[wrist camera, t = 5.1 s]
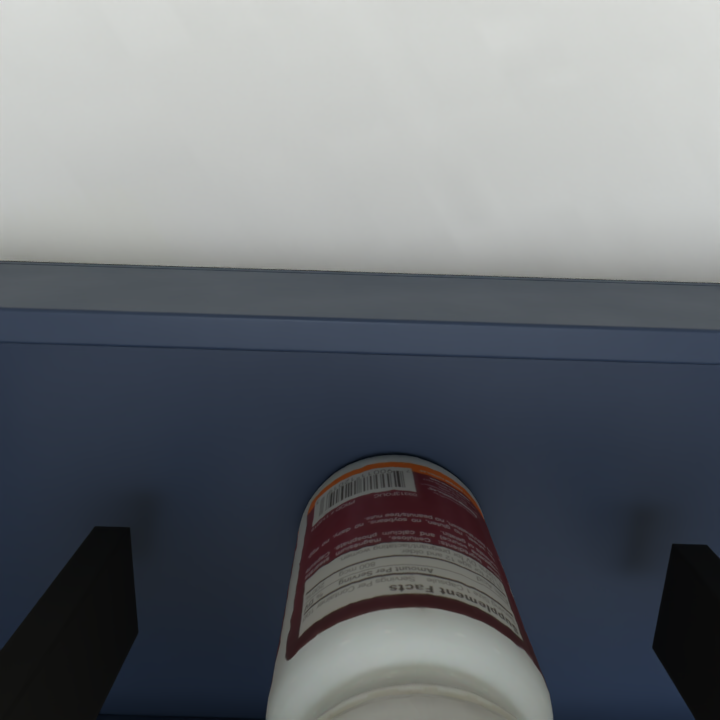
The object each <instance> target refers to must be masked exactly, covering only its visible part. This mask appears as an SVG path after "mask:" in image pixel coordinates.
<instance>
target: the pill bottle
mask: <svg viewBox="0 0 720 720" xmlns="http://www.w3.org/2000/svg"><path fill="white" fill-rule="evenodd" d="M266 720H553V712H552V705H551V700H550V693H549V691H548V688H547V685H546V682H545V679H544V676H543V674H542V672H541V669H540V667H539V664H538V661H537V658H536V656H535V654H534V651H533V647H532V645H531V643H530V641H529V638H528V635H527V633H526V631H525V629H524V626H523V623H522V620H521V617H520V614H519V612H518V609H517V606H516V603H515V600H514V597H513V595H512V592H511V589H510V586H509V583H508V581H507V578H506V575H505V573H504V570H503V567H502V564H501V561H500V559H499V556H498V553H497V551H496V548H495V546H494V543H493V540H492V538H491V536H490V533H489V530H488V527H487V525H486V523H485V520H484V516H483V514H482V511H481V509H480V506H479V504H478V502H477V501H476V499H475V497H474V496H473V494H472V493H471V492H470V490H469V489H468V488H467V487H466V486H465V485H464V484H463V483H462V482H461V481H460V480H459V479H458V478H457V477H455V476H454V475H453V474H451V473H450V472H448V471H447V470H445V469H443V468H442V467H440V466H438V465H436V464H433V463H431V462H429V461H426V460H423V459H420V458H417V457H413V456H406V455H382V456H374V457H370V458H366V459H362V460H360V461H357V462H354V463H352V464H350V465H347V466H346V467H344V468H342V469H340V470H338V471H337V472H336V473H334V474H333V475H332V476H331V477H330V478H328V479H327V480H326V481H325V482H324V483H323V484H322V485H321V486H320V487H319V488H318V490H317V491H316V492H315V494H314V495H313V496H312V498H311V499H310V501H309V503H308V505H307V507H306V509H305V511H304V513H303V516H302V519H301V523H300V527H299V531H298V537H297V543H296V548H295V553H294V560H293V564H292V569H291V577H290V582H289V587H288V591H287V602H286V606H285V612H284V617H283V623H282V630H281V635H280V640H279V644H278V648H277V654H276V660H275V667H274V673H273V677H272V683H271V688H270V692H269V697H268V702H267V710H266Z"/></svg>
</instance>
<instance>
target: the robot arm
mask: <svg viewBox="0 0 720 720" xmlns="http://www.w3.org/2000/svg"><path fill="white" fill-rule="evenodd" d="M138 633H139V632H138V619H137V607H136V595H135V583H134V571H133V558H132V546H131V534H130V527H106V526H95V527H94V528H93V529H92V531H91V532H90V533H89V535H88V536H87V537H86V539H85V540H84V541H83V543H82V544H81V545H80V547H79V548H78V549H77V550H76V552H75V553H74V554H73V556H72V557H71V558H70V560H69V561H68V562H67V564H66V565H65V566H64V568H63V569H62V570H61V572H60V573H59V574H58V576H57V577H56V578H55V579H54V581H53V582H52V583H51V585H50V586H49V587H48V589H47V590H46V591H45V593H44V594H43V595H42V597H41V598H40V599H39V601H38V602H37V603H36V605H35V606H34V607H33V608H32V610H31V611H30V612H29V614H28V615H27V616H26V618H25V619H24V620H23V622H22V623H21V624H20V626H19V627H18V628H17V630H16V631H15V632H14V634H13V635H12V636H11V637H10V639H9V640H8V641H7V643H6V644H5V645H4V647H3V648H2V649H1V651H0V720H96V718H97V716H98V714H99V712H100V710H101V708H102V706H103V704H104V702H105V700H106V698H107V696H108V694H109V692H110V690H111V688H112V686H113V684H114V682H115V680H116V678H117V676H118V673H119V671H120V669H121V667H122V665H123V663H124V661H125V659H126V657H127V655H128V653H129V651H130V649H131V647H132V645H133V643H134V641H135V639H136V637H137V635H138ZM652 649H653V650H654V652H655V654H656V655H657V657H658V659H659V660H660V662H661V663H662V665H663V667H664V668H665V670H666V672H667V673H668V675H669V677H670V678H671V680H672V682H673V683H674V685H675V687H676V688H677V690H678V692H679V693H680V695H681V697H682V698H683V700H684V701H685V703H686V705H687V706H688V708H689V710H690V711H691V713H692V715H693V716H694V718H695V720H720V558H719V557H718V556H717V555H716V554H715V553H714V552H713V551H712V550H711V548H710V547H709V546H708V545H704V544H672V547H671V552H670V557H669V562H668V567H667V573H666V578H665V583H664V588H663V593H662V598H661V603H660V609H659V614H658V619H657V624H656V629H655V634H654V639H653V644H652Z"/></svg>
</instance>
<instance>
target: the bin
mask: <svg viewBox="0 0 720 720" xmlns="http://www.w3.org/2000/svg"><path fill="white" fill-rule="evenodd" d="M382 455H406V456H413V457H417V458H420V459H423V460H426V461H429V462H431V463H433V464H436V465H438V466H440V467H442V468H443V469H445V470H447V471H448V472H450V473H451V474H453V475H454V476H455V477H457V478H458V479H459V480H460V481H461V482H462V483H463V484H464V485H465V486H466V487H467V488H468V489H469V490H470V492H471V493H472V494H473V496H474V497H475V499H476V501H477V502H478V504H479V506H480V509H481V511H482V514H483V516H484V520H485V523H486V525H487V527H488V530H489V533H490V536H491V538H492V540H493V543H494V546H495V548H496V551H497V553H498V556H499V559H500V561H501V564H502V567H503V570H504V573H505V575H506V578H507V581H508V583H509V586H510V589H511V592H512V595H513V597H514V600H515V603H516V606H517V609H518V612H519V614H520V617H521V620H522V623H523V626H524V629H525V631H526V633H527V635H528V638H529V641H530V643H531V645H532V647H533V651H534V654H535V656H536V658H537V661H538V664H539V667H540V669H541V672H542V674H543V676H544V679H545V682H546V685H547V688H548V691H549V693H550V700H551V705H552V712H553V720H695V718H694V716H693V715H692V713H691V711H690V710H689V708H688V706H687V705H686V703H685V701H684V700H683V698H682V697H681V695H680V693H679V692H678V690H677V688H676V687H675V685H674V683H673V682H672V680H671V678H670V677H669V675H668V673H667V672H666V670H665V668H664V667H663V665H662V663H661V662H660V660H659V659H658V657H657V655H656V654H655V652H654V650H653V649H652V644H653V639H654V634H655V629H656V624H657V619H658V614H659V609H660V603H661V598H662V593H663V588H664V583H665V578H666V573H667V567H668V562H669V557H670V552H671V547H672V544H704V545H708V546H709V547H710V548H711V550H712V551H713V552H714V553H715V554H716V555H717V556H718V557H719V558H720V283H690V282H658V281H626V280H594V279H562V278H530V277H498V276H466V275H434V274H402V273H370V272H338V271H306V270H274V269H242V268H210V267H178V266H146V265H114V264H82V263H50V262H18V261H0V651H1V649H2V648H3V647H4V645H5V644H6V643H7V641H8V640H9V639H10V637H11V636H12V635H13V634H14V632H15V631H16V630H17V628H18V627H19V626H20V624H21V623H22V622H23V620H24V619H25V618H26V616H27V615H28V614H29V612H30V611H31V610H32V608H33V607H34V606H35V605H36V603H37V602H38V601H39V599H40V598H41V597H42V595H43V594H44V593H45V591H46V590H47V589H48V587H49V586H50V585H51V583H52V582H53V581H54V579H55V578H56V577H57V576H58V574H59V573H60V572H61V570H62V569H63V568H64V566H65V565H66V564H67V562H68V561H69V560H70V558H71V557H72V556H73V554H74V553H75V552H76V550H77V549H78V548H79V547H80V545H81V544H82V543H83V541H84V540H85V539H86V537H87V536H88V535H89V533H90V532H91V531H92V529H93V528H94V527H95V526H106V527H130V534H131V546H132V558H133V571H134V583H135V595H136V607H137V619H138V632H139V633H138V635H137V637H136V639H135V641H134V643H133V645H132V647H131V649H130V651H129V653H128V655H127V657H126V659H125V661H124V663H123V665H122V667H121V669H120V671H119V673H118V676H117V678H116V680H115V682H114V684H113V686H112V688H111V690H110V692H109V694H108V696H107V698H106V700H105V702H104V704H103V706H102V708H101V710H100V712H99V714H98V716H97V718H96V720H266V710H267V702H268V697H269V692H270V688H271V683H272V677H273V673H274V667H275V660H276V654H277V648H278V644H279V640H280V635H281V630H282V623H283V617H284V612H285V606H286V602H287V591H288V587H289V582H290V577H291V569H292V564H293V560H294V553H295V548H296V543H297V537H298V531H299V527H300V523H301V519H302V516H303V513H304V511H305V509H306V507H307V505H308V503H309V501H310V499H311V498H312V496H313V495H314V494H315V492H316V491H317V490H318V488H319V487H320V486H321V485H322V484H323V483H324V482H325V481H326V480H327V479H328V478H330V477H331V476H332V475H333V474H334V473H336V472H337V471H338V470H340V469H342V468H344V467H346V466H347V465H350V464H352V463H354V462H357V461H360V460H362V459H366V458H370V457H374V456H382Z"/></svg>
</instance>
